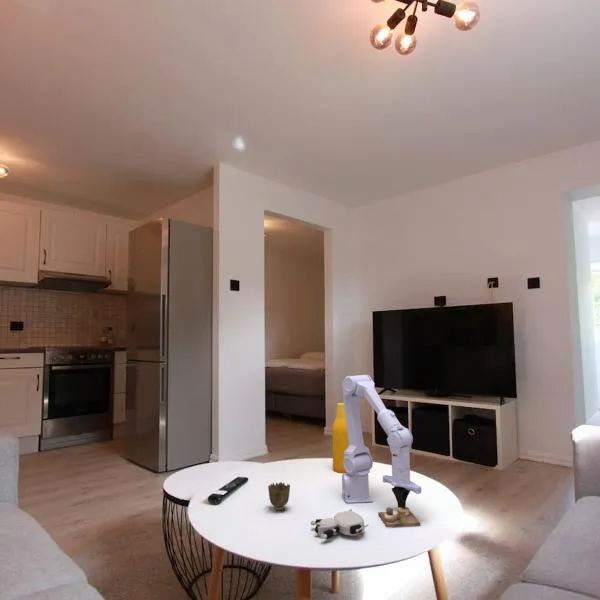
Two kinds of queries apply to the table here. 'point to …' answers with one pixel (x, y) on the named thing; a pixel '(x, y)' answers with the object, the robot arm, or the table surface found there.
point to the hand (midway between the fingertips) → (402, 510)
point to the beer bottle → (339, 439)
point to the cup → (279, 495)
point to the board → (402, 521)
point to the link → (396, 515)
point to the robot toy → (340, 524)
